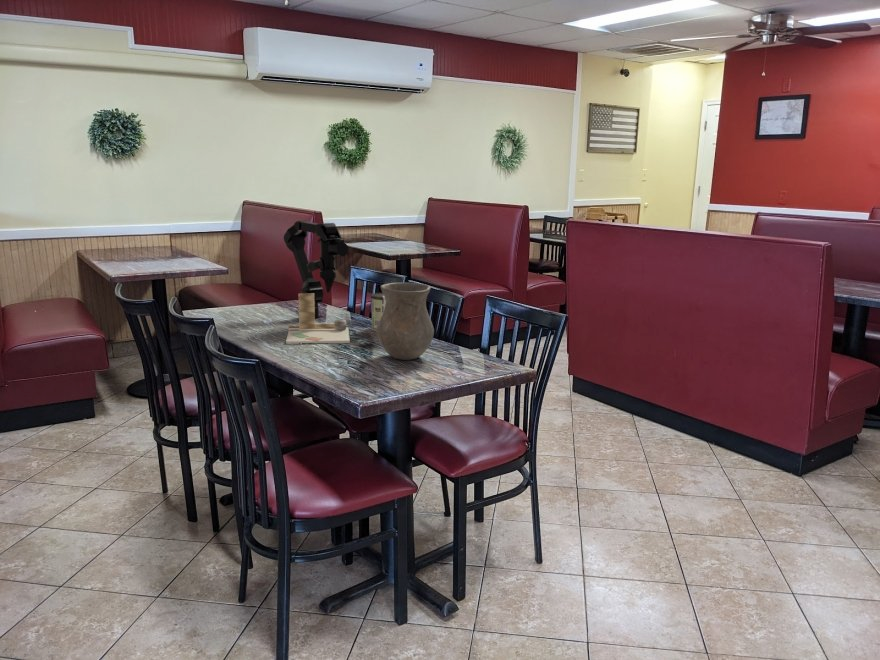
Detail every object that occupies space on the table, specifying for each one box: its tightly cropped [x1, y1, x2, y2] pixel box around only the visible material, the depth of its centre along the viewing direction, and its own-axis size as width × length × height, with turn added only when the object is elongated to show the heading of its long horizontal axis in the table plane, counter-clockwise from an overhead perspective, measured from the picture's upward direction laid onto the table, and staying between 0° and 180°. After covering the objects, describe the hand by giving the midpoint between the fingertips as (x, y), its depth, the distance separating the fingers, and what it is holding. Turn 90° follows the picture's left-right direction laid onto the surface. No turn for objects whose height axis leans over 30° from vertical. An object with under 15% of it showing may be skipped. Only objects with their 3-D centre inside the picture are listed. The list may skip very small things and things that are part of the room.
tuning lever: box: [288, 292, 347, 330], centre depth 270 cm, size 22×4×14 cm, turn 99°
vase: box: [376, 281, 435, 361], centre depth 236 cm, size 20×19×25 cm
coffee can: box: [370, 292, 384, 332], centre depth 278 cm, size 10×10×14 cm
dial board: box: [285, 326, 351, 345], centre depth 265 cm, size 23×22×1 cm
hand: (328, 291), depth 287 cm, fingers open, 4 cm apart
